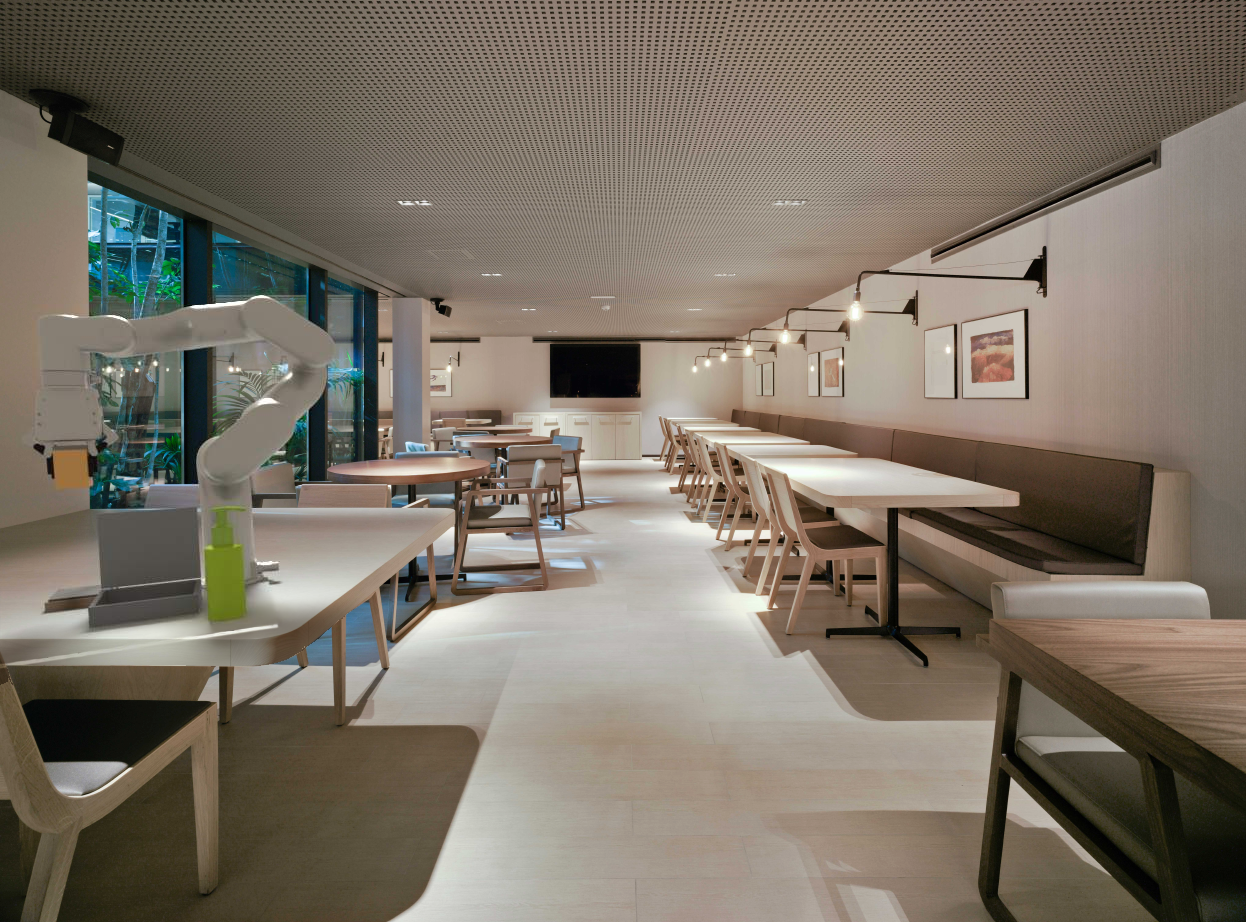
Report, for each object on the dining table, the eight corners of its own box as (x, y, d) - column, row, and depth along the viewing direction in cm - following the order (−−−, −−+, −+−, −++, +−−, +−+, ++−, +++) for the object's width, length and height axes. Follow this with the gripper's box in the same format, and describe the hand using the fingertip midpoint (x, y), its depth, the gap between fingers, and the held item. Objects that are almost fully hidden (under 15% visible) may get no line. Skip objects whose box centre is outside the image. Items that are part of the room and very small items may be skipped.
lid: (200, 577, 140) (201, 576, 141) (196, 506, 140) (197, 506, 141) (101, 588, 132) (102, 588, 134) (96, 513, 132) (98, 513, 134)
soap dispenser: (249, 621, 124) (242, 507, 123) (204, 625, 122) (197, 510, 121) (256, 612, 130) (249, 503, 128) (213, 616, 128) (206, 506, 126)
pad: (118, 594, 144) (118, 582, 144) (111, 606, 136) (110, 593, 136) (57, 602, 140) (56, 589, 139) (45, 614, 131) (44, 600, 131)
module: (93, 485, 139) (90, 444, 139) (88, 487, 135) (85, 445, 134) (61, 486, 137) (57, 445, 136) (55, 489, 133) (52, 446, 132)
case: (202, 598, 140) (201, 578, 140) (199, 616, 128) (198, 594, 128) (102, 611, 133) (101, 590, 132) (89, 631, 120) (87, 607, 120)
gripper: (124, 382, 142) (130, 473, 143) (14, 382, 134) (22, 478, 135) (119, 381, 135) (125, 476, 137) (3, 380, 127) (11, 482, 128)
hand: (74, 476), depth 136 cm, fingers closed on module, 5 cm apart
